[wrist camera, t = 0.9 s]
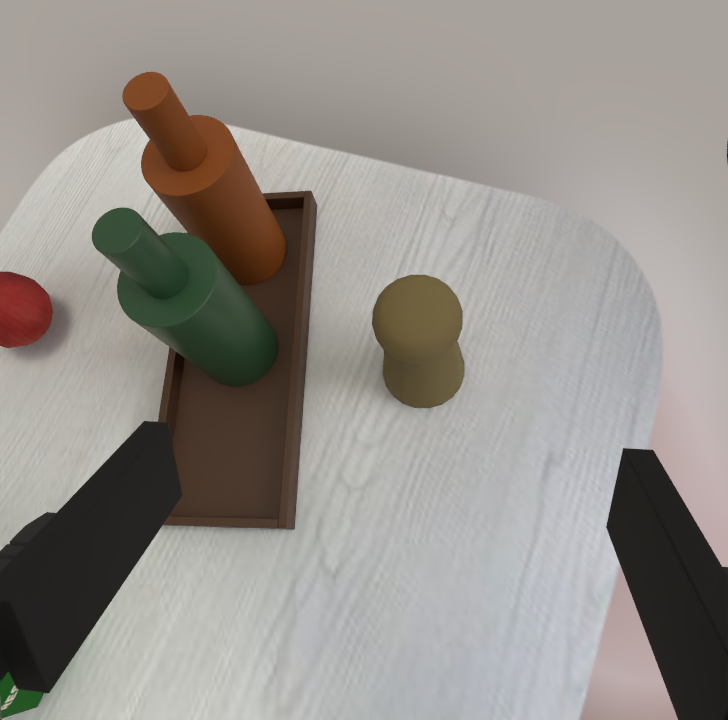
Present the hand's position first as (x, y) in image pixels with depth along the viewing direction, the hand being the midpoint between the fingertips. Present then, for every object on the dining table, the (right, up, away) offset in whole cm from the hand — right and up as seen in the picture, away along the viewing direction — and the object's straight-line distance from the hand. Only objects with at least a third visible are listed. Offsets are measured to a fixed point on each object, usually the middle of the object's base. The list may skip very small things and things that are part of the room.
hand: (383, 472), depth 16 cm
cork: (+4, +3, +24) cm, 25 cm away
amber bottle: (-10, +12, +29) cm, 33 cm away
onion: (-28, +6, +30) cm, 41 cm away
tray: (-10, +4, +27) cm, 29 cm away
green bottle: (-10, +4, +26) cm, 28 cm away
